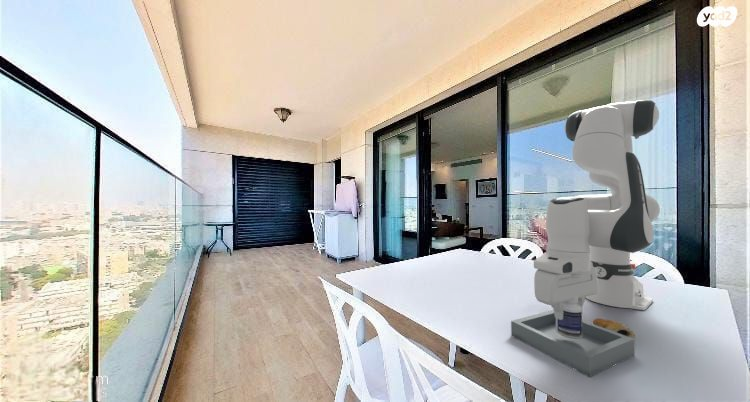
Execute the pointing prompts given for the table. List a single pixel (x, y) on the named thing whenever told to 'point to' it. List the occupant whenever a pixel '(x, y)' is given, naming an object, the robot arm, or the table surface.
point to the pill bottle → (570, 320)
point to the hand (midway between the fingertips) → (568, 316)
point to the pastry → (614, 327)
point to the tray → (574, 343)
